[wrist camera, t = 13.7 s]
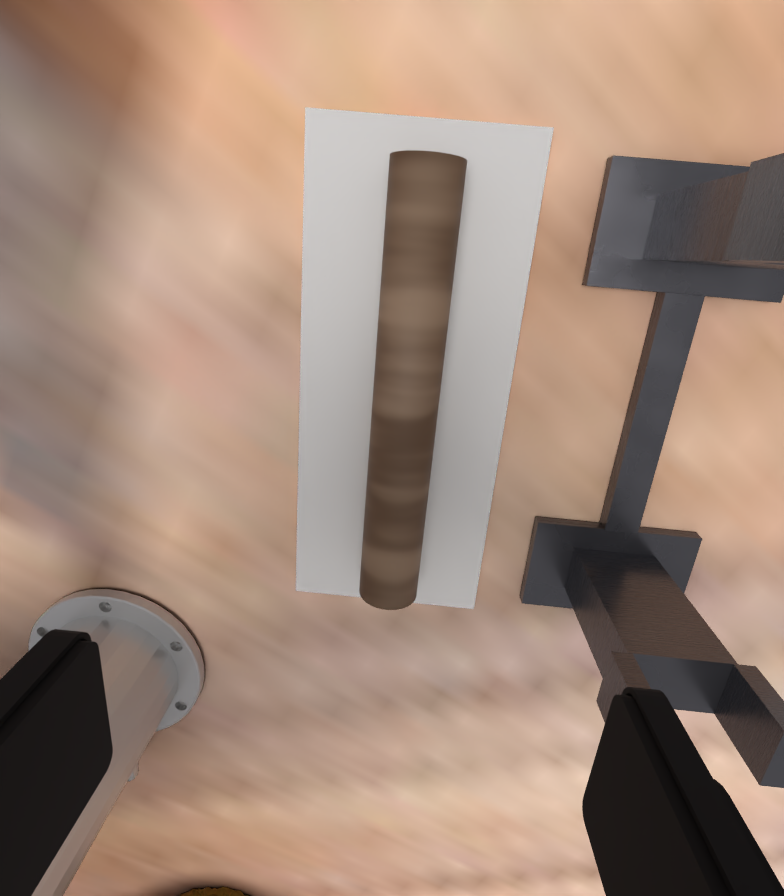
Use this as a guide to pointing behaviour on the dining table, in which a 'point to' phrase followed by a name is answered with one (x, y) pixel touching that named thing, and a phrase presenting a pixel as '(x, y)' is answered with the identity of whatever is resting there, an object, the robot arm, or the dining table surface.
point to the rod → (408, 367)
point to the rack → (654, 393)
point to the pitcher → (213, 892)
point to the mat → (355, 337)
